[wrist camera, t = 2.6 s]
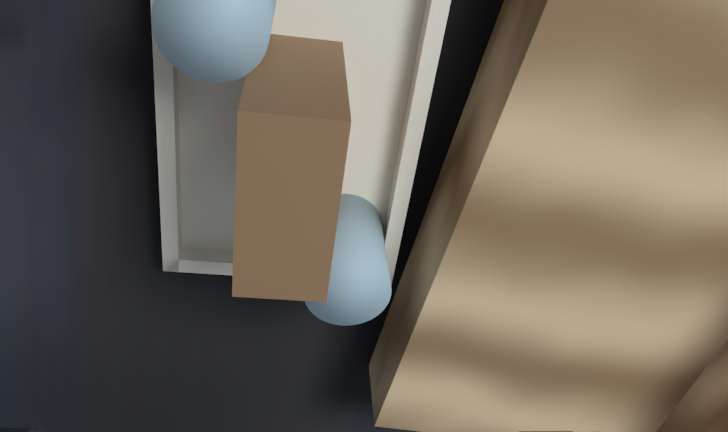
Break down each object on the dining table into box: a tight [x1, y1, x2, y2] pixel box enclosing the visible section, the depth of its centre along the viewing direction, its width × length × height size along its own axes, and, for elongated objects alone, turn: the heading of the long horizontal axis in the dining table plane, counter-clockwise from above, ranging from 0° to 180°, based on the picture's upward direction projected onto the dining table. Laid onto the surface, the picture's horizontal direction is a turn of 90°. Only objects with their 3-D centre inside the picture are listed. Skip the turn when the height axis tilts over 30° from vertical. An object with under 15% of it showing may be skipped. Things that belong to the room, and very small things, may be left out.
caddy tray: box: [150, 0, 451, 326], centre depth 20 cm, size 13×9×7 cm
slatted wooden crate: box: [369, 0, 728, 432], centre depth 23 cm, size 22×14×6 cm, turn 165°
